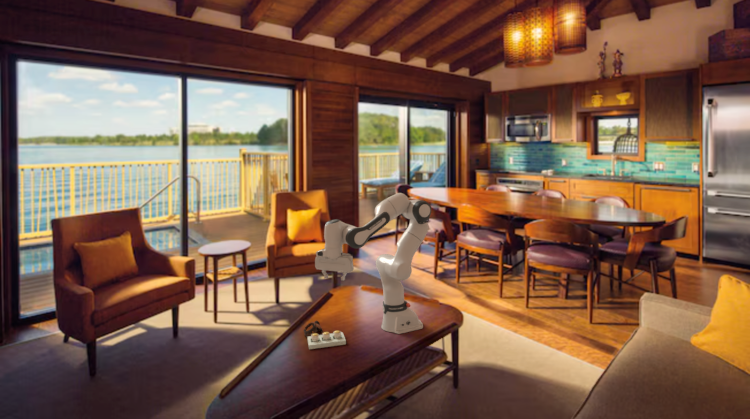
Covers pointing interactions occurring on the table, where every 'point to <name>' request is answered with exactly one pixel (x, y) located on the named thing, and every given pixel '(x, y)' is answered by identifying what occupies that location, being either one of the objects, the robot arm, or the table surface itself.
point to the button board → (327, 343)
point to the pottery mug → (313, 328)
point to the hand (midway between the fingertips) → (334, 279)
